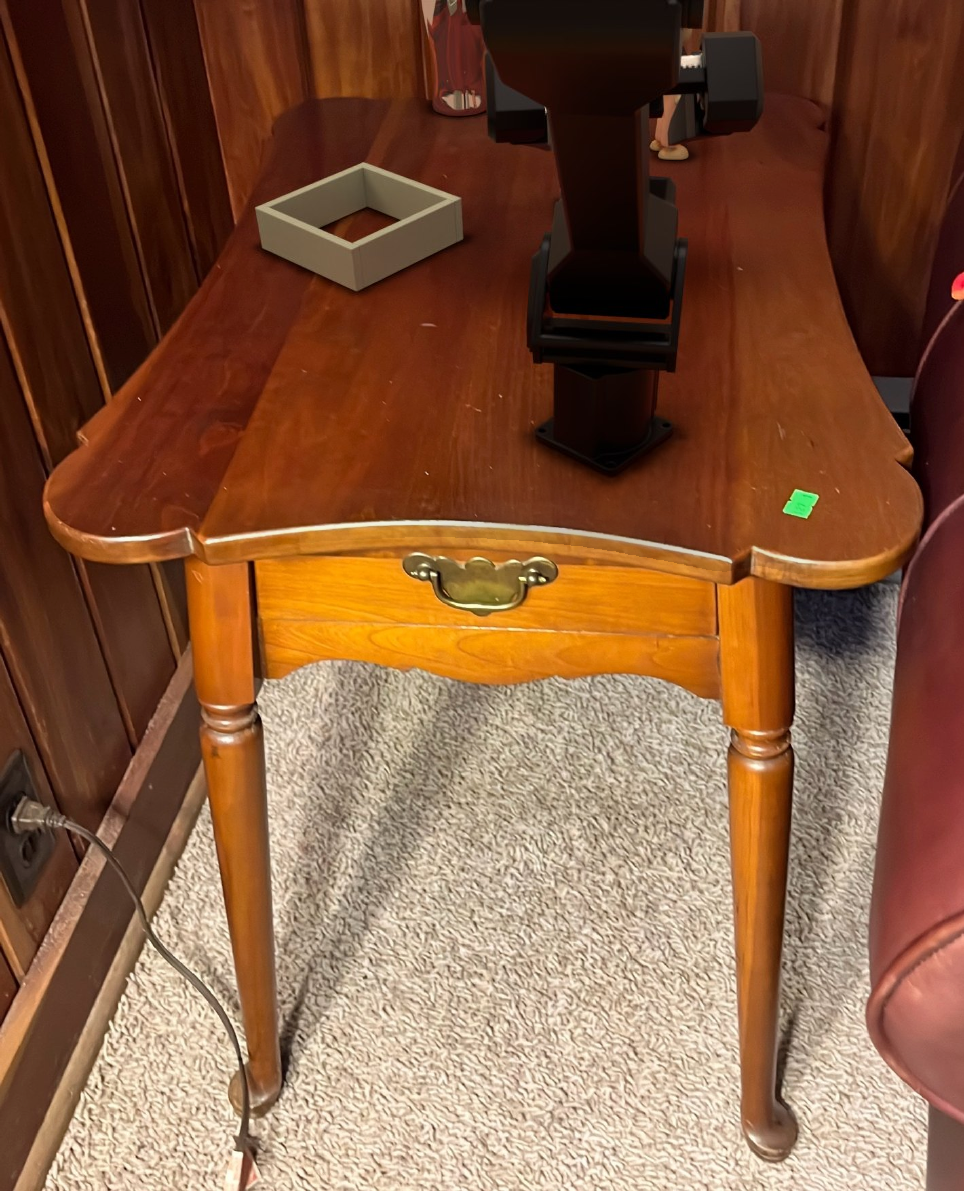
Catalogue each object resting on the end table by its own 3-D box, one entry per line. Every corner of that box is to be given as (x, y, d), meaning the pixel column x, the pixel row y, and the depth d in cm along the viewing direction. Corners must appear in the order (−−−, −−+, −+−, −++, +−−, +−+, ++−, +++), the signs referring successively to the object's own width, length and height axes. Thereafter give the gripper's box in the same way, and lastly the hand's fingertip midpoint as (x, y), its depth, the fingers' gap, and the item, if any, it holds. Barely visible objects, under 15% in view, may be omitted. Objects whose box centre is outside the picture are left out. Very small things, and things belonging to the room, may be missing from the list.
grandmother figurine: (706, 159, 103) (720, 9, 94) (669, 167, 102) (680, 16, 93) (665, 131, 108) (676, -14, 99) (630, 138, 107) (637, -8, 98)
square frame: (356, 292, 86) (351, 249, 84) (261, 248, 93) (254, 207, 90) (463, 239, 92) (461, 197, 90) (368, 201, 99) (363, 161, 96)
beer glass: (420, 99, 117) (408, -64, 107) (484, 89, 118) (478, -72, 108) (438, 122, 112) (428, -47, 102) (504, 112, 113) (500, -56, 103)
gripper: (779, -105, 70) (726, 32, 85) (480, -91, 70) (482, 44, 86) (789, 69, 69) (734, 176, 85) (487, 83, 69) (488, 187, 85)
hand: (609, 141), depth 85 cm, fingers open, 9 cm apart
